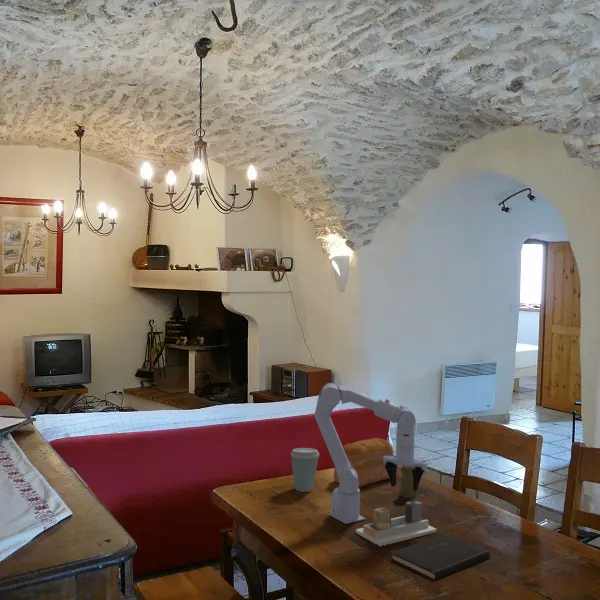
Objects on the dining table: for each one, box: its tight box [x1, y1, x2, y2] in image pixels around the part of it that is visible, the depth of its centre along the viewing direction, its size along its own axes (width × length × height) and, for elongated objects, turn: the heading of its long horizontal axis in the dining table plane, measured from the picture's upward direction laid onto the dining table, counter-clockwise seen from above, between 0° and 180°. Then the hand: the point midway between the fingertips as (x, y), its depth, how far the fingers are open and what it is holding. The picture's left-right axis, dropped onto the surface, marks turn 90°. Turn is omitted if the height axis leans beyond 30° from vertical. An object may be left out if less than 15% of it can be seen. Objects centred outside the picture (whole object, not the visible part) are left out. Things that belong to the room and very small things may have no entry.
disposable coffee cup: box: [290, 447, 320, 493], centre depth 243 cm, size 11×11×15 cm
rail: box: [355, 500, 437, 547], centre depth 203 cm, size 12×22×8 cm, turn 121°
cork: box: [399, 465, 417, 499], centre depth 238 cm, size 6×6×11 cm
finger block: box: [373, 506, 392, 531], centre depth 200 cm, size 3×4×7 cm, turn 122°
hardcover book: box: [390, 533, 491, 580], centre depth 185 cm, size 16×23×2 cm
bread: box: [333, 437, 398, 488], centre depth 256 cm, size 14×26×15 cm, turn 130°
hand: (404, 488), depth 213 cm, fingers open, 7 cm apart
